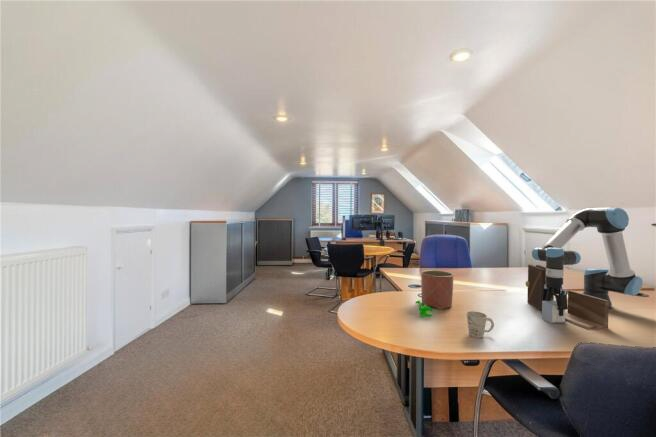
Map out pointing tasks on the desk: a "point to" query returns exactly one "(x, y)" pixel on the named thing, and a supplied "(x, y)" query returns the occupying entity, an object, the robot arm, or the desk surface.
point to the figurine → (424, 310)
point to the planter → (437, 288)
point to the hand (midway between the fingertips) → (553, 319)
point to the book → (536, 285)
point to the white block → (551, 312)
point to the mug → (478, 324)
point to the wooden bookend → (587, 311)
